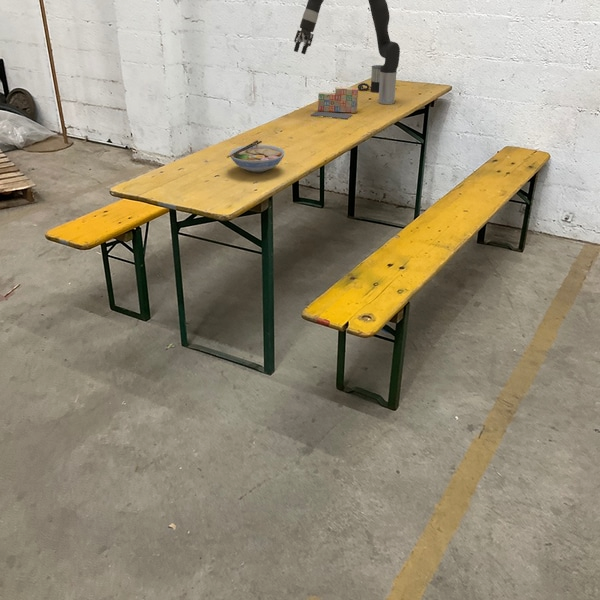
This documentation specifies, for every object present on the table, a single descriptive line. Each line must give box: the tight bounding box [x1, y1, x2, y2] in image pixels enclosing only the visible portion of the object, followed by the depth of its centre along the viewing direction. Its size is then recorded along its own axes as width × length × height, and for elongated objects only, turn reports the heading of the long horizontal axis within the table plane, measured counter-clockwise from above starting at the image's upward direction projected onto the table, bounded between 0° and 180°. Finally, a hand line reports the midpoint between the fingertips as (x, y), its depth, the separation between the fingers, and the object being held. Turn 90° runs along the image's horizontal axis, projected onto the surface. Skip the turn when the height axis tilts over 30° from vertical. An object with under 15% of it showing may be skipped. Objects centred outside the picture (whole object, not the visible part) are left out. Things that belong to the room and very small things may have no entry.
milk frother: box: [357, 64, 382, 94], centre depth 387 cm, size 14×16×15 cm
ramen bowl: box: [226, 139, 286, 173], centre depth 256 cm, size 25×23×8 cm
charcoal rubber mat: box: [310, 110, 354, 120], centre depth 335 cm, size 9×21×1 cm, turn 67°
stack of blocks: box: [317, 86, 359, 114], centre depth 340 cm, size 21×6×12 cm, turn 84°
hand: (299, 52), depth 323 cm, fingers open, 8 cm apart
